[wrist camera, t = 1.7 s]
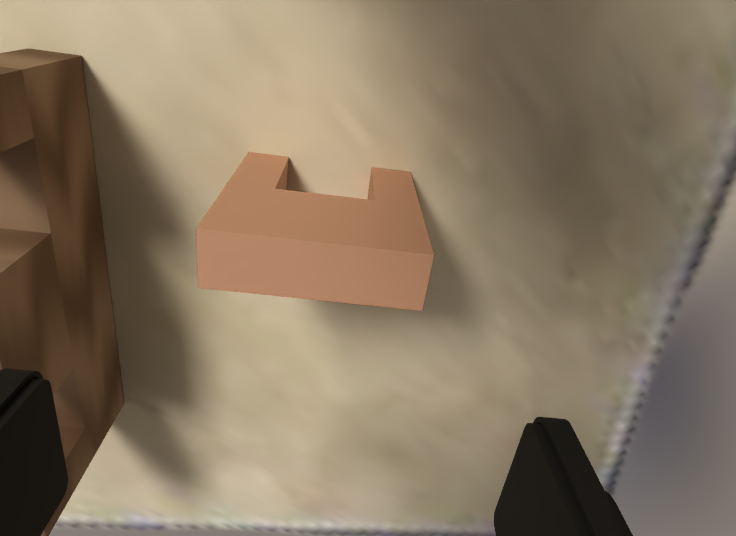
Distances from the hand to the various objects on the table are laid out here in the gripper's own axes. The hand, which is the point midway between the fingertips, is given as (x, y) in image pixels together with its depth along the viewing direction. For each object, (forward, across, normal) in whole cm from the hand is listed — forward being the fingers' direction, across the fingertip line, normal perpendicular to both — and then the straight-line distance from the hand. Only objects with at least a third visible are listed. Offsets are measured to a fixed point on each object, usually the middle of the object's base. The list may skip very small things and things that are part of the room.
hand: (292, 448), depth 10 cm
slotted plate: (+14, 0, -1) cm, 14 cm away
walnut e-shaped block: (+14, +11, +4) cm, 19 cm away
